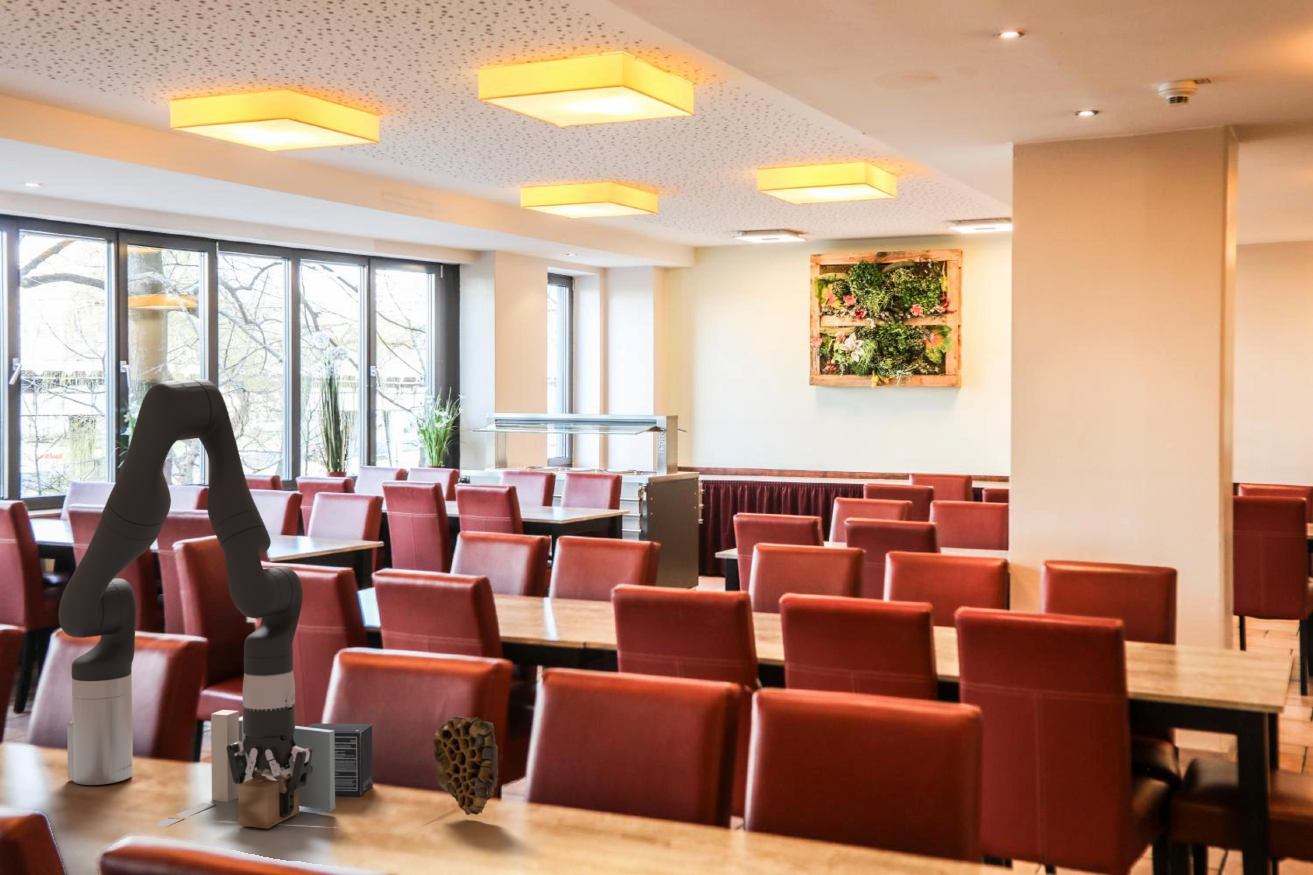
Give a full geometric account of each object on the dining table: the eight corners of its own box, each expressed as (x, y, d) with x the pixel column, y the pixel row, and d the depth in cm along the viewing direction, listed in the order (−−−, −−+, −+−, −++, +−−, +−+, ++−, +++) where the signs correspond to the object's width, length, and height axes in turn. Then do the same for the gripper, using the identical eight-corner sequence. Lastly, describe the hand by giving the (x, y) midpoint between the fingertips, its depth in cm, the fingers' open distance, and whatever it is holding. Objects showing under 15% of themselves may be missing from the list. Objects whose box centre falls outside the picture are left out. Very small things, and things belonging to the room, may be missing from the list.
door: (324, 812, 193) (323, 734, 193) (231, 799, 200) (230, 723, 200) (335, 808, 195) (334, 730, 195) (242, 794, 202) (242, 719, 202)
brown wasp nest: (425, 815, 195) (425, 718, 194) (437, 807, 199) (437, 711, 198) (495, 821, 192) (494, 722, 191) (505, 813, 196) (505, 716, 195)
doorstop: (238, 824, 188) (238, 784, 188) (271, 808, 196) (271, 770, 196) (267, 828, 186) (267, 787, 186) (299, 812, 194) (299, 772, 194)
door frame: (114, 845, 182) (113, 747, 181) (254, 782, 213) (253, 698, 212) (131, 847, 181) (130, 749, 181) (269, 783, 212) (269, 700, 211)
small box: (374, 785, 211) (374, 722, 211) (361, 797, 204) (361, 732, 204) (313, 783, 212) (312, 721, 212) (298, 795, 205) (297, 730, 205)
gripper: (212, 703, 189) (213, 816, 190) (295, 710, 185) (296, 826, 185) (244, 692, 197) (245, 802, 197) (324, 699, 192) (325, 811, 192)
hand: (269, 813), depth 191 cm, fingers closed on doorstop, 5 cm apart
